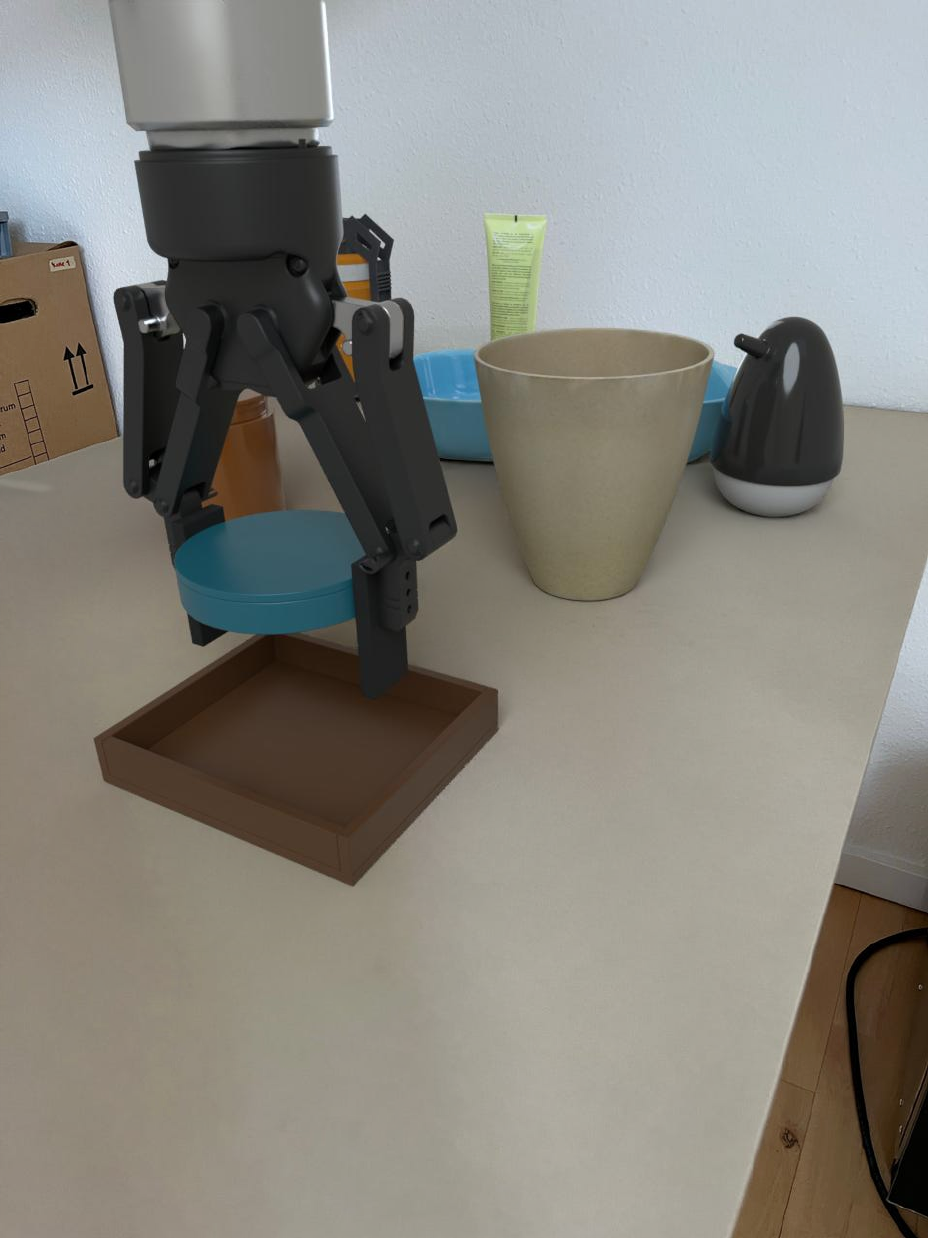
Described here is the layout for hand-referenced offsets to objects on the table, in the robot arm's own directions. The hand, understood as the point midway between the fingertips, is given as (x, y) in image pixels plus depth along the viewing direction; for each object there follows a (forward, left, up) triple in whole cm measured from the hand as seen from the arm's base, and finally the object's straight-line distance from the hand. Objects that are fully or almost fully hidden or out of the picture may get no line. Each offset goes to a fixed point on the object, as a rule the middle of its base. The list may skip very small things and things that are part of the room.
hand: (296, 657), depth 45 cm
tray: (0, 0, -6) cm, 6 cm away
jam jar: (-26, +23, -6) cm, 35 cm away
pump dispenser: (+12, +46, -6) cm, 48 cm away
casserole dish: (-11, +55, -6) cm, 56 cm away
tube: (-25, +72, -6) cm, 76 cm away
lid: (0, 0, +5) cm, 5 cm away
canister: (-40, +61, -6) cm, 73 cm away
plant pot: (+4, +26, -6) cm, 27 cm away
